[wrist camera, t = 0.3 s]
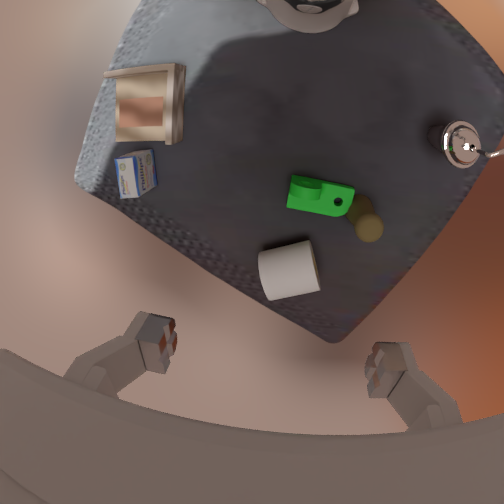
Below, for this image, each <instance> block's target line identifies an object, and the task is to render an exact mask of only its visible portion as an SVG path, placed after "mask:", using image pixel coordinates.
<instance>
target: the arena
mask: <svg viewBox="0 0 504 504" xmlns="http://www.w3.org/2000/svg"><path fill="white" fill-rule="evenodd" d="M185 73H186V66H183V65H179V64H176V63H169V64H158V65H148V66H140V67H132V68H126V69H119V70H113V71H107V72H104V73H103V78H115V79H117V81H116V142H119V141H165V145H172V144H174V143H177V142H180V141H182V140H183V111H184V90H185Z"/></svg>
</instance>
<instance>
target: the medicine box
mask: <svg viewBox="0 0 504 504" xmlns="http://www.w3.org/2000/svg"><path fill="white" fill-rule="evenodd" d="M115 165H116V172H117V178H118V185H119V191H120V197H121V198H134V197H140V196H141V195H143V194H144V193H146V192H147V191H149V190H150V189H152V188H153V187H155V186H156V185H157V178H156V171H155V162H154V154H153V149H149V150H139V151H134V152H131V153H129V154H126V155H123V156H121V157H118V158H115Z"/></svg>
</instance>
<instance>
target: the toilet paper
mask: <svg viewBox="0 0 504 504" xmlns="http://www.w3.org/2000/svg"><path fill="white" fill-rule="evenodd" d="M258 266H259V273H260V278H261V282H262V286H263V289H264V292H265V294H266V296H267V298H268V299H269V300H276V299H281V298H286V297H290V296H295V295H300V294H305V293H309V292H314V291H318V290H321V288H320V280H319V275H318V270H317V265H316V261H315V257H314V253H313V249H312V245H311V242H310V240H308V241H304V242H299V243H295V244H291V245H287V246H283V247H279V248H274V249H270V250H266V251H262V252H260V253H259V255H258Z"/></svg>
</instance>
